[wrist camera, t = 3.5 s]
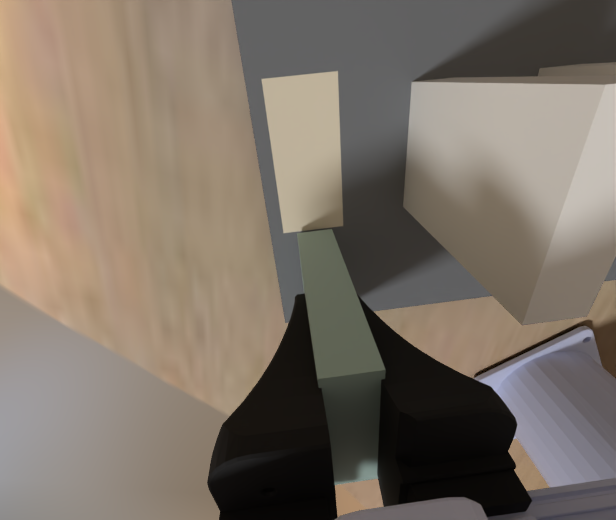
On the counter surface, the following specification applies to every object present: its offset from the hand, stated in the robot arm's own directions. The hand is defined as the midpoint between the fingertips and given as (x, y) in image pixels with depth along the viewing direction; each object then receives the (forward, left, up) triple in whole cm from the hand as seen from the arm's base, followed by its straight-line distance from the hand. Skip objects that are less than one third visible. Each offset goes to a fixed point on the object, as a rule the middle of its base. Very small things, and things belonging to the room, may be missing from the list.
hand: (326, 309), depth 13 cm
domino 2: (+2, -7, -3) cm, 8 cm away
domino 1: (0, 0, -3) cm, 3 cm away
